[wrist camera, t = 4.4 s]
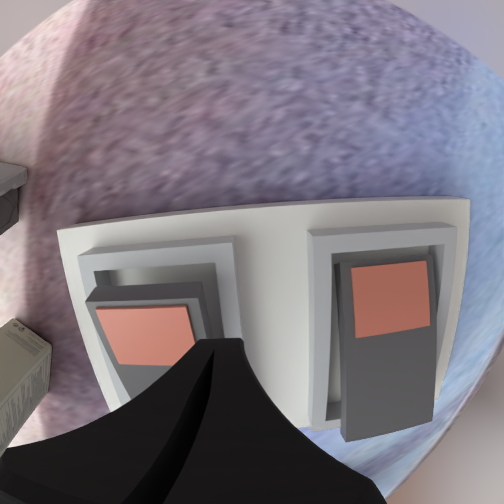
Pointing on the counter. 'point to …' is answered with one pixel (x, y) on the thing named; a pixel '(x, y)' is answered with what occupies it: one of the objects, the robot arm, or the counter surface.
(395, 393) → the rocker
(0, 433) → the skincare box
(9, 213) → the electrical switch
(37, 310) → the counter surface
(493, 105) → the counter surface
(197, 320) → the rocker
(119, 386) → the breaker panel
